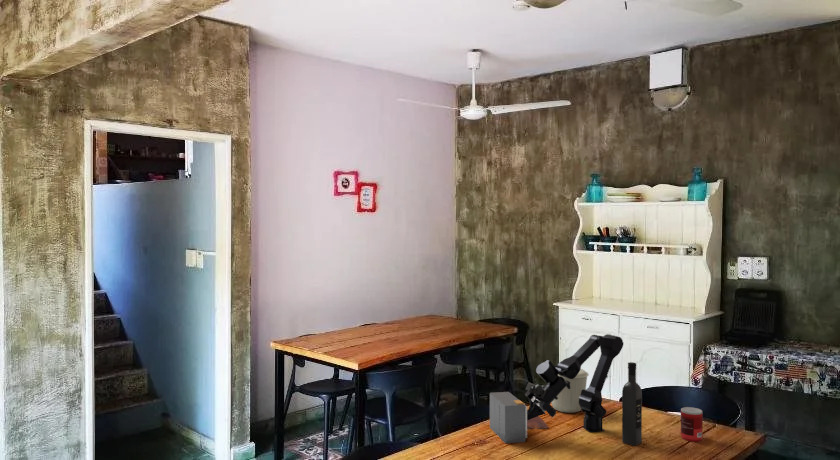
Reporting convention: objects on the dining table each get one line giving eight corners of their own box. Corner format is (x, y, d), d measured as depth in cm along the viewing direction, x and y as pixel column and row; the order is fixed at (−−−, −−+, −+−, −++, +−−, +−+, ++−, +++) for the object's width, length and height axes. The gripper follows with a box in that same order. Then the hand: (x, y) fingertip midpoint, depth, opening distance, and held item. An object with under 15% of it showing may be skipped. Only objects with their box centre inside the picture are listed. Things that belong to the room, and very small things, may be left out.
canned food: (701, 436, 241) (701, 408, 241) (703, 443, 234) (703, 413, 234) (680, 434, 244) (680, 406, 244) (681, 440, 236) (681, 411, 236)
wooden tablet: (549, 430, 250) (550, 426, 250) (525, 430, 249) (525, 426, 249) (534, 411, 276) (534, 407, 276) (512, 411, 276) (512, 407, 276)
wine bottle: (642, 443, 234) (643, 363, 234) (634, 446, 230) (635, 365, 230) (628, 439, 238) (629, 360, 238) (620, 442, 234) (621, 362, 234)
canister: (551, 402, 288) (551, 356, 288) (591, 406, 281) (591, 360, 281) (542, 412, 272) (542, 364, 272) (585, 417, 265) (585, 368, 265)
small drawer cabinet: (510, 426, 254) (510, 391, 253) (527, 441, 235) (527, 403, 235) (489, 427, 252) (489, 392, 252) (505, 443, 233) (505, 405, 233)
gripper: (529, 370, 248) (503, 399, 246) (548, 381, 230) (519, 412, 228) (548, 388, 250) (521, 417, 248) (568, 401, 232) (539, 432, 230)
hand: (525, 419), depth 238 cm, fingers closed, pressing on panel
